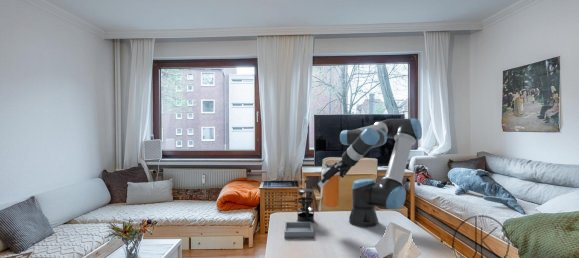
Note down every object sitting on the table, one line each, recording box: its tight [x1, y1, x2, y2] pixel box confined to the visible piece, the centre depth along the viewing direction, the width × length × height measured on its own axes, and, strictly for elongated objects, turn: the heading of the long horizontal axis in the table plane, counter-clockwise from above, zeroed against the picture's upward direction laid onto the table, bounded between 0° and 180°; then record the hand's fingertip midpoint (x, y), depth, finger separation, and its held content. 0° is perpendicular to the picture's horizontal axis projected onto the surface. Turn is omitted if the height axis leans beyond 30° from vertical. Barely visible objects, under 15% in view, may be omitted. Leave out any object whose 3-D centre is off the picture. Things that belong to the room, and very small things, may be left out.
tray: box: [284, 221, 314, 239], centre depth 146 cm, size 14×14×3 cm
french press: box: [296, 178, 315, 224], centre depth 163 cm, size 12×9×23 cm
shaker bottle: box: [321, 163, 340, 208], centre depth 147 cm, size 9×9×20 cm
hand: (325, 184), depth 150 cm, fingers closed on shaker bottle, 9 cm apart
